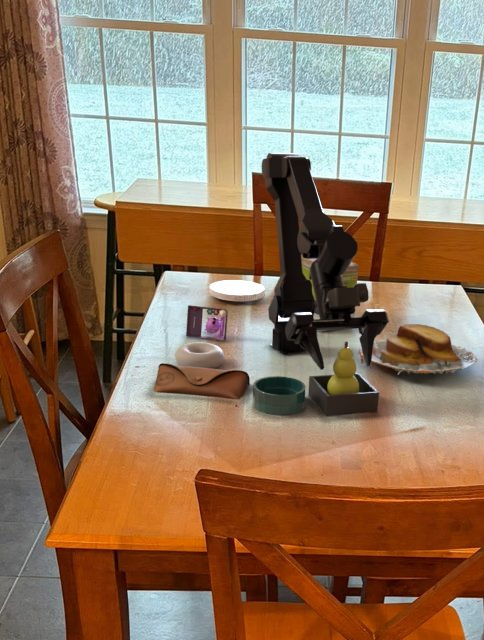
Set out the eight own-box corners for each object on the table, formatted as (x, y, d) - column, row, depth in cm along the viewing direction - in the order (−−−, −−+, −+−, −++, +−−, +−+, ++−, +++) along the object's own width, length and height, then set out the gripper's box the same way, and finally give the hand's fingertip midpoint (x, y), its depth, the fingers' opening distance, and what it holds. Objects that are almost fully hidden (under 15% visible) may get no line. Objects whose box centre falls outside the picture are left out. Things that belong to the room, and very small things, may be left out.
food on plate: (346, 374, 171) (348, 343, 167) (372, 339, 191) (375, 311, 188) (467, 393, 166) (472, 361, 163) (481, 355, 187) (486, 326, 183)
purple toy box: (187, 304, 181) (226, 309, 180) (193, 306, 186) (232, 311, 185) (185, 336, 183) (224, 340, 182) (191, 337, 188) (230, 341, 187)
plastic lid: (275, 299, 212) (276, 289, 211) (235, 308, 203) (235, 298, 202) (239, 286, 220) (239, 277, 218) (198, 295, 211) (198, 285, 209)
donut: (167, 369, 167) (215, 375, 165) (166, 352, 165) (214, 358, 163) (185, 353, 175) (230, 359, 173) (184, 337, 173) (230, 343, 172)
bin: (308, 399, 158) (309, 376, 156) (357, 395, 162) (358, 372, 159) (325, 420, 151) (327, 396, 148) (377, 415, 154) (379, 392, 151)
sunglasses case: (148, 393, 154) (150, 357, 153) (156, 399, 161) (159, 365, 160) (244, 401, 154) (247, 365, 154) (248, 407, 161) (251, 373, 161)
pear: (337, 395, 159) (341, 334, 153) (363, 403, 157) (369, 341, 150) (320, 404, 155) (323, 342, 148) (346, 413, 153) (351, 349, 146)
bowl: (255, 397, 157) (255, 374, 155) (305, 400, 158) (306, 378, 155) (250, 417, 149) (250, 393, 147) (303, 420, 150) (304, 397, 147)
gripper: (292, 267, 143) (309, 350, 141) (390, 265, 149) (408, 344, 147) (277, 299, 153) (293, 377, 151) (369, 296, 160) (386, 371, 157)
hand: (346, 367), depth 151 cm, fingers open, 9 cm apart
